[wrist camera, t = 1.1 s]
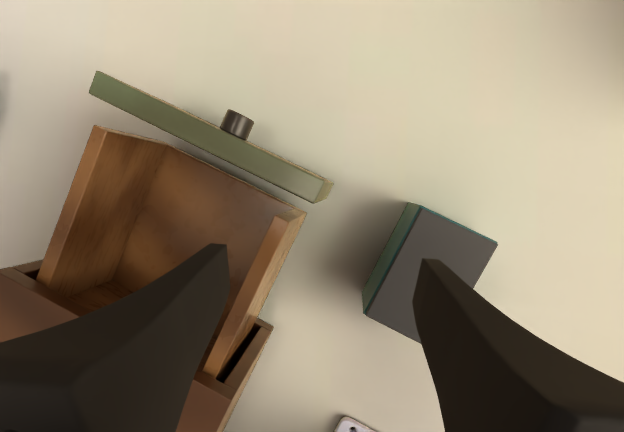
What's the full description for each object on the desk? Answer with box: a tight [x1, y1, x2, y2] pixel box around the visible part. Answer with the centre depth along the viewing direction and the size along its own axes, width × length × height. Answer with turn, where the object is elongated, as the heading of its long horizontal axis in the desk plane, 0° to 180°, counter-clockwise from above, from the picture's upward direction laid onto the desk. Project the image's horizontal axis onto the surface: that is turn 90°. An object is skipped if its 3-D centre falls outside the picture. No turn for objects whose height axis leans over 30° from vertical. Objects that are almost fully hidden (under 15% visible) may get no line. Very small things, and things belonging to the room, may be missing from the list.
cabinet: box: [0, 260, 274, 432], centre depth 22 cm, size 15×14×9 cm
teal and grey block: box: [362, 203, 498, 344], centre depth 21 cm, size 7×5×4 cm, turn 155°
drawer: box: [36, 71, 333, 381], centre depth 20 cm, size 15×12×7 cm
